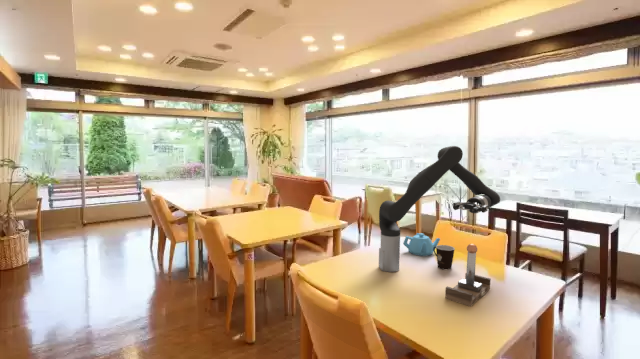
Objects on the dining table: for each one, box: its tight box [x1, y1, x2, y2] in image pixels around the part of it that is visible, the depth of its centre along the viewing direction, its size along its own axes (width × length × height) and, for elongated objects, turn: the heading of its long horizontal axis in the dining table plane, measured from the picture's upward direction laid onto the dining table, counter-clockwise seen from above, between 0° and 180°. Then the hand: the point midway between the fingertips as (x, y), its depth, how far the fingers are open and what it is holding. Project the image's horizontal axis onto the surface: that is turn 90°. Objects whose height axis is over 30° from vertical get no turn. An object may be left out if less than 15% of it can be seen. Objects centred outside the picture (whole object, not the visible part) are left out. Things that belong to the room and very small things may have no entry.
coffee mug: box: [433, 244, 456, 271], centre depth 176 cm, size 12×9×10 cm
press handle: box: [457, 243, 482, 292], centre depth 145 cm, size 5×8×18 cm, turn 47°
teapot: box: [402, 232, 441, 257], centre depth 198 cm, size 15×15×11 cm
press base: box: [444, 273, 492, 307], centre depth 145 cm, size 22×10×4 cm, turn 137°
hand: (464, 209), depth 158 cm, fingers open, 8 cm apart
